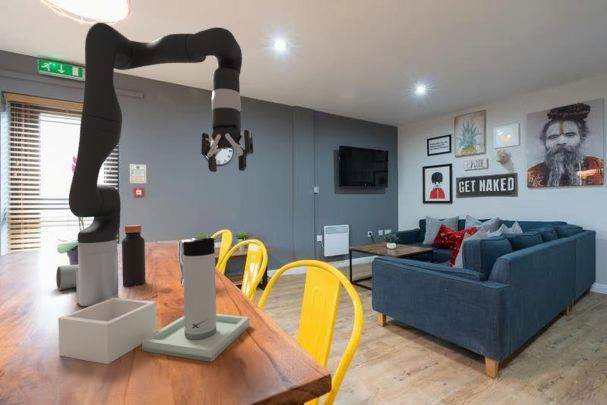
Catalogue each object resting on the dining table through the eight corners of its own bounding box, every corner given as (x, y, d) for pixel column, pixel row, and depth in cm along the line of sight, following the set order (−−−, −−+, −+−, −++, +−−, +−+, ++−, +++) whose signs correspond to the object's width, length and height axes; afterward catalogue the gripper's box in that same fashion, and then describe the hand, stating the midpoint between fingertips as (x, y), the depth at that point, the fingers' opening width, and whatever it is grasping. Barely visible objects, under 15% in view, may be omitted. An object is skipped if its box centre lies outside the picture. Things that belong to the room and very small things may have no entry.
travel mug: (199, 343, 57) (197, 240, 57) (177, 335, 61) (176, 238, 60) (223, 330, 62) (222, 236, 62) (202, 324, 66) (201, 234, 65)
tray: (142, 350, 56) (141, 340, 56) (192, 319, 71) (191, 311, 71) (211, 361, 52) (211, 350, 52) (249, 325, 67) (249, 317, 67)
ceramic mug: (92, 286, 99) (91, 263, 99) (61, 292, 93) (60, 267, 93) (82, 281, 106) (82, 259, 106) (53, 286, 99) (52, 263, 99)
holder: (59, 355, 55) (58, 318, 55) (114, 328, 66) (113, 297, 66) (107, 364, 52) (106, 324, 52) (156, 334, 63) (156, 302, 63)
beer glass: (193, 288, 95) (192, 241, 95) (173, 287, 97) (173, 241, 96) (204, 282, 102) (203, 238, 102) (186, 281, 103) (185, 238, 103)
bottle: (128, 281, 104) (127, 224, 103) (148, 281, 104) (147, 224, 104) (118, 287, 97) (117, 226, 97) (140, 286, 98) (138, 226, 97)
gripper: (194, 108, 77) (195, 171, 77) (244, 103, 73) (245, 169, 74) (211, 116, 84) (212, 173, 85) (256, 111, 80) (257, 171, 81)
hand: (227, 171), depth 79 cm, fingers open, 8 cm apart
